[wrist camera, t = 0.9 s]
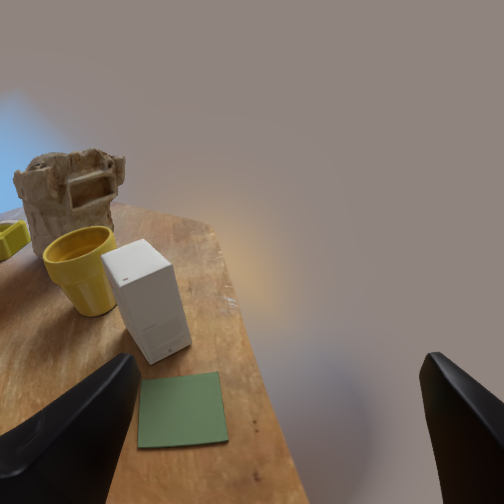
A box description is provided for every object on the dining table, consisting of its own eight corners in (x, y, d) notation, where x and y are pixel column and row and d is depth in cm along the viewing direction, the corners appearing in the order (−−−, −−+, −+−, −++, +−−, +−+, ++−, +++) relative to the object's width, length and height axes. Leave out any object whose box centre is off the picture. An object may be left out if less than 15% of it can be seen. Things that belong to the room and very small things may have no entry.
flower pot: (67, 293, 43) (46, 237, 38) (126, 275, 47) (110, 218, 42) (65, 334, 35) (36, 271, 30) (135, 313, 38) (115, 247, 34)
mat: (228, 441, 23) (228, 440, 23) (138, 448, 22) (137, 447, 22) (218, 373, 30) (217, 371, 30) (142, 381, 29) (141, 379, 29)
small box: (193, 344, 33) (174, 264, 28) (149, 367, 30) (119, 287, 25) (163, 309, 39) (144, 236, 34) (125, 327, 36) (99, 254, 31)
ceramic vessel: (84, 182, 70) (102, 98, 53) (136, 252, 68) (169, 171, 50) (7, 216, 54) (0, 125, 36) (53, 301, 51) (48, 221, 34)
